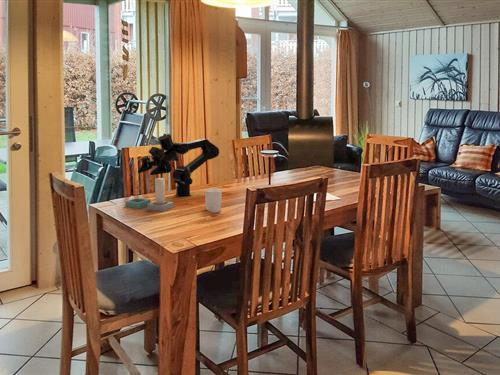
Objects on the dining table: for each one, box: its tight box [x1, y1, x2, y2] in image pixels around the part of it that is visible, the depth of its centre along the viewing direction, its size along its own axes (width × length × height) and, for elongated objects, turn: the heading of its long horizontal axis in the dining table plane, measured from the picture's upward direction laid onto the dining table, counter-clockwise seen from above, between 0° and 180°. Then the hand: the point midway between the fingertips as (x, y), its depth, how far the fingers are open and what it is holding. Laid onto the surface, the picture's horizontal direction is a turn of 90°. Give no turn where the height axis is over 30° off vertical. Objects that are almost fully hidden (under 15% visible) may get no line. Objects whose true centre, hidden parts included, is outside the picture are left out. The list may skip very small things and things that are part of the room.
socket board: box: [123, 197, 175, 213], centre depth 245 cm, size 22×11×4 cm, turn 66°
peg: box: [154, 177, 166, 205], centre depth 241 cm, size 4×4×14 cm
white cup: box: [204, 187, 223, 214], centre depth 241 cm, size 8×8×10 cm
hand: (144, 173), depth 253 cm, fingers open, 9 cm apart
